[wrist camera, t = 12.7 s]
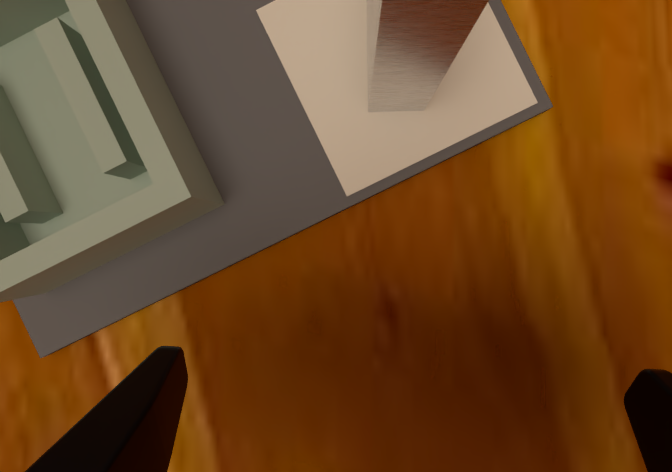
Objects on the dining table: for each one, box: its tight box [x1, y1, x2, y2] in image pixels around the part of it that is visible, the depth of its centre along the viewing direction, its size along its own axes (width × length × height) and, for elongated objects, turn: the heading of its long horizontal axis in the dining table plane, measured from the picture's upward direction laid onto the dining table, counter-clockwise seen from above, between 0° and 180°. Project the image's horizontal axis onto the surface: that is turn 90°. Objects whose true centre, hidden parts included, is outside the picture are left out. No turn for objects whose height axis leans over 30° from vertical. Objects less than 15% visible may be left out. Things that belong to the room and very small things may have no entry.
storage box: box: [0, 0, 225, 302], centre depth 17 cm, size 11×9×4 cm
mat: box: [13, 0, 553, 358], centre depth 19 cm, size 16×25×1 cm, turn 116°
